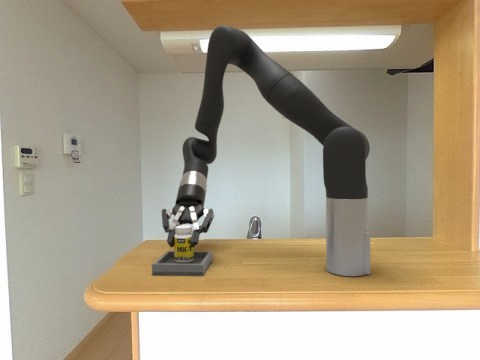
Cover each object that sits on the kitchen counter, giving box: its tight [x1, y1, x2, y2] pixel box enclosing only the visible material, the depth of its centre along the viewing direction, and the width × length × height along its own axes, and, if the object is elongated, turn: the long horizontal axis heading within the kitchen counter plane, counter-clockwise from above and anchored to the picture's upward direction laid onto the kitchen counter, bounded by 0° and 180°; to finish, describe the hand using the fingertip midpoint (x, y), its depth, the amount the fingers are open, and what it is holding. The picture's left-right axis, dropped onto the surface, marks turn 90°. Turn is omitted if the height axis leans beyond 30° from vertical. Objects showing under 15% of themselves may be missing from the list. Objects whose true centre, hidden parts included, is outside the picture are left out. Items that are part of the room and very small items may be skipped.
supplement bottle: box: [173, 224, 195, 263], centre depth 83 cm, size 5×5×8 cm
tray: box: [151, 250, 213, 277], centre depth 83 cm, size 12×12×2 cm
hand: (182, 245), depth 81 cm, fingers closed on supplement bottle, 4 cm apart
